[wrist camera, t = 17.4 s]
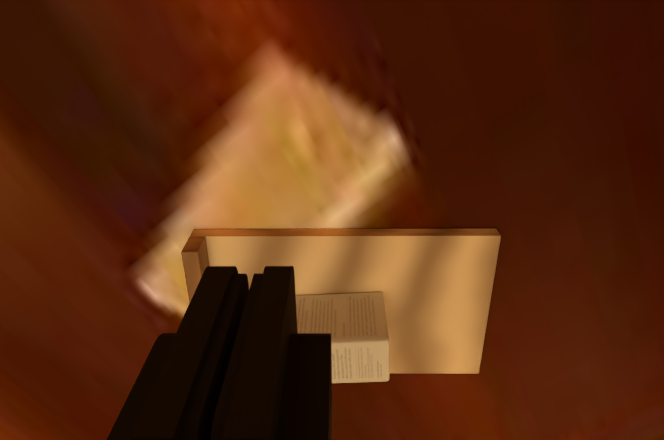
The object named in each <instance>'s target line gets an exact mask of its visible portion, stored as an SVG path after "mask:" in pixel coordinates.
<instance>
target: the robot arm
mask: <svg viewBox="0 0 664 440" xmlns="http://www.w3.org/2000/svg"><path fill="white" fill-rule="evenodd" d="M331 416H332V351H331V333H298V332H297V313H296V294H295V275H294V267H293V266H265V268H264V271H263V273H255V274H254V275H253V279H252V282H251V286H250V289H249V283H248V276H247V274H238V270H237V267H236V266H208V267H206V269H205V270H204V273H203V275H202V277H201V279H200V282H199V284H198V286H197V288H196V290H195V293H194V295H193V297H192V299H191V302H190V304H189V306H188V308H187V311H186V313H185V315H184V317H183V319H182V322H181V324H180V326H179V328H178V331H177V333H163V334H161V335H160V336H159V337H158V338H157V340H156V341H155V343H154V345H153V347H152V349H151V351H150V353H149V355H148V357H147V359H146V361H145V364H144V366H143V368H142V370H141V372H140V374H139V376H138V378H137V380H136V382H135V384H134V386H133V388H132V390H131V392H130V394H129V396H128V398H127V400H126V402H125V404H124V406H123V408H122V410H121V412H120V414H119V416H118V418H117V420H116V422H115V424H114V426H113V428H112V430H111V432H110V434H109V436H108V438H107V440H331Z"/></svg>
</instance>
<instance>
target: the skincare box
mask: <svg viewBox="0 0 664 440" xmlns="http://www.w3.org/2000/svg"><path fill="white" fill-rule="evenodd" d="M296 313H297V332H298V333H331V351H332V383H355V382H385V381H388V380H389V337H388V329H387V321H386V314H385V306H384V298H383V293H381V292H374V293H346V294H324V295H297V296H296Z"/></svg>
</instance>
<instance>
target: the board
mask: <svg viewBox="0 0 664 440" xmlns="http://www.w3.org/2000/svg"><path fill="white" fill-rule="evenodd" d="M500 238H501V235H500V234H499V232H498V230H497V229H194V230H193V232H192V234H191V236H190V237H189V239H188V241H187V243H186V245H185V246H184V248H183V250H182V252H181V254H182V260H183V266H184V272H185V278H186V283H187V289H188V295H189V301H190V302H191V299H192V297H193V295H194V293H195V290H196V288H197V286H198V284H199V282H200V279H201V277H202V275H203V273H204V270H205V269H206V267H208V266H236V267H237V270H238V274H247V276H248V283H249V289H250V286H251V282H252V279H253V275H254V274H255V273H263V271H264V268H265V266H293V267H294V275H295V294H296V296H297V295H324V294H346V293H374V292H381V293H383V298H384V306H385V314H386V321H387V329H388V337H389V373H479V368H480V362H481V355H482V349H483V343H484V337H485V331H486V324H487V318H488V312H489V306H490V300H491V294H492V287H493V281H494V275H495V269H496V263H497V256H498V250H499V244H500Z"/></svg>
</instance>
